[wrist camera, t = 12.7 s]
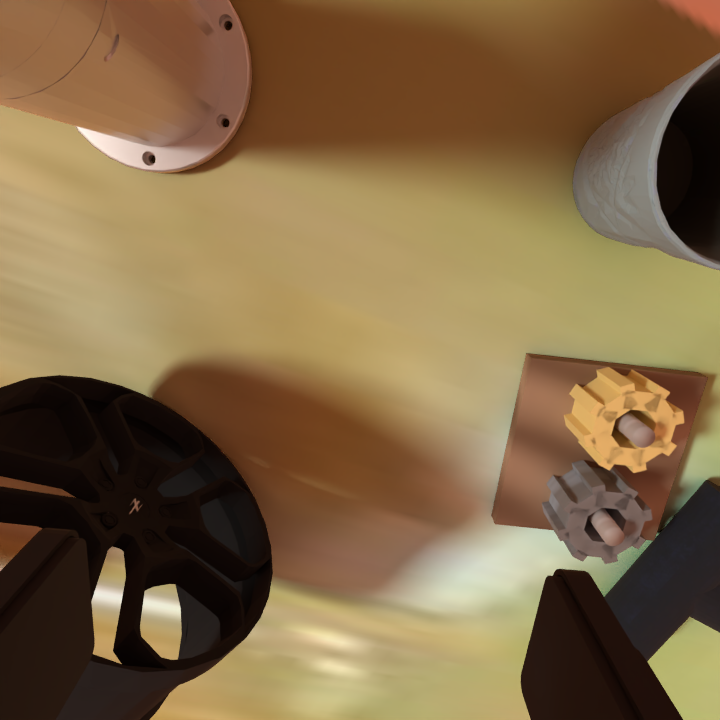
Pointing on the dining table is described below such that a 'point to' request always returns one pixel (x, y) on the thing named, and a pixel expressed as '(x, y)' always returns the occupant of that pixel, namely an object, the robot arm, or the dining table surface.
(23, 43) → the robot arm
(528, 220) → the dining table surface
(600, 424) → the ochre gear
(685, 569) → the pipe connector
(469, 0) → the dining table surface
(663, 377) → the board
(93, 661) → the car wheel rim
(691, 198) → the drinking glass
